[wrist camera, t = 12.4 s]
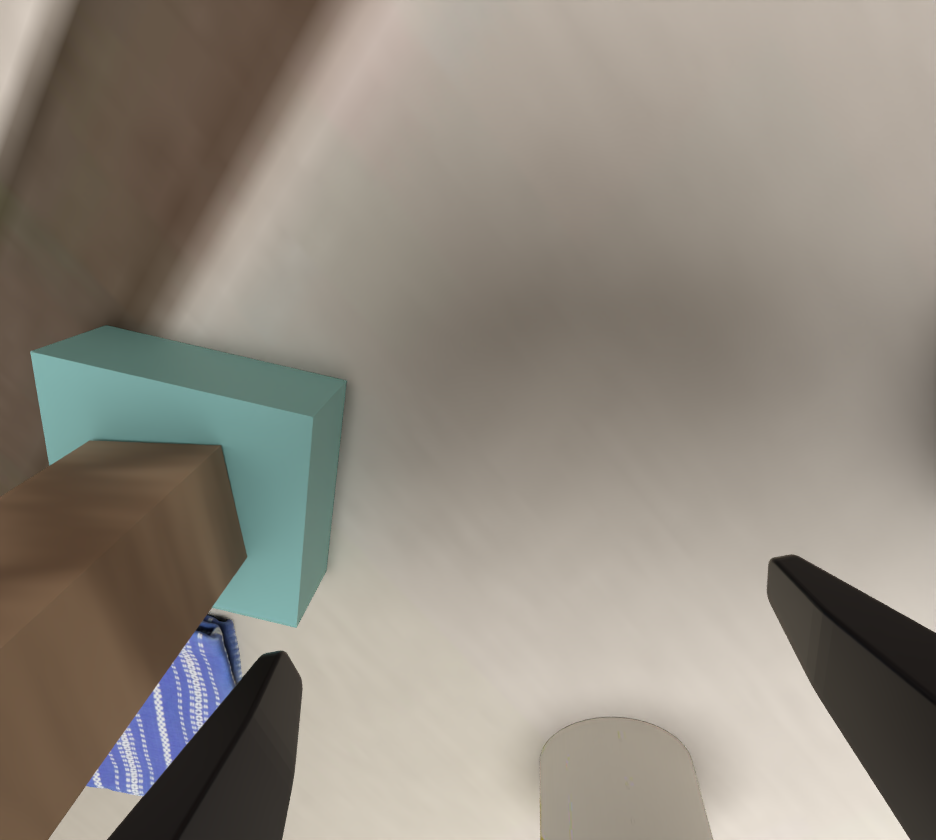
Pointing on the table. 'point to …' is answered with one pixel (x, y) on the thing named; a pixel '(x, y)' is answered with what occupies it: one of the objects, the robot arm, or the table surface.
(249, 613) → the teal plinth
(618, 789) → the cup
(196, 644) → the dish towel
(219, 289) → the table surface
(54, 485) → the walnut pillar
